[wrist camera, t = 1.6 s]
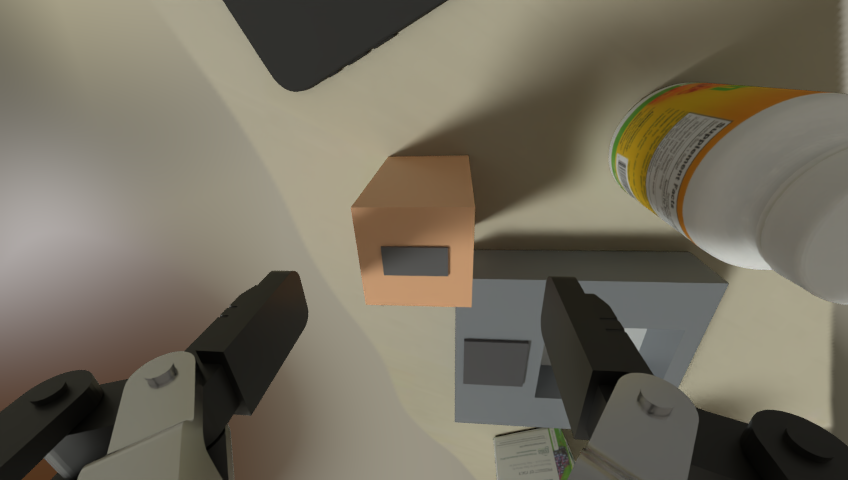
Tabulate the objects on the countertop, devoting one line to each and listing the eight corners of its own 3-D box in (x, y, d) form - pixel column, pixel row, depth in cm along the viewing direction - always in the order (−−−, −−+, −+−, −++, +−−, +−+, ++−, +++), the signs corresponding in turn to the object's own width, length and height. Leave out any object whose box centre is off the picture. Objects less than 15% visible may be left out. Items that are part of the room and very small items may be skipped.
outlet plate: (456, 249, 20) (455, 280, 17) (689, 251, 18) (731, 285, 15) (455, 384, 25) (454, 424, 22) (633, 393, 24) (656, 437, 21)
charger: (388, 156, 17) (349, 208, 11) (468, 155, 17) (475, 208, 11) (394, 228, 19) (365, 306, 13) (466, 228, 19) (471, 309, 13)
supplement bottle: (757, 105, 15) (1175, 163, 6) (677, 209, 17) (892, 352, 9) (650, 63, 14) (935, 62, 6) (583, 176, 17) (713, 291, 8)
